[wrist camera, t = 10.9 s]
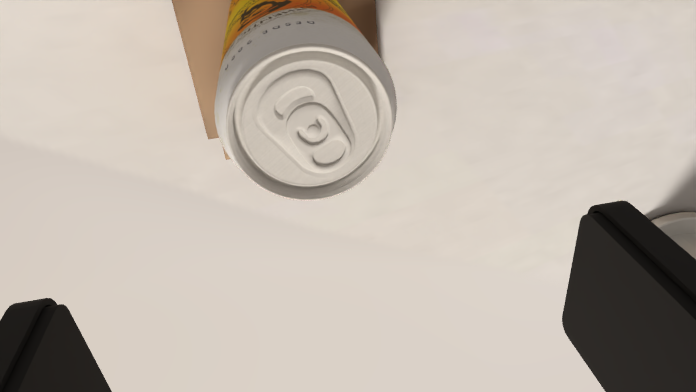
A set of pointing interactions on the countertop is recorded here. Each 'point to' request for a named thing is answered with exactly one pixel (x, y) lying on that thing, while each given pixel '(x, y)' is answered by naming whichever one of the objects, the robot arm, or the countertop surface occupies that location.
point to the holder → (208, 40)
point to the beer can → (302, 98)
